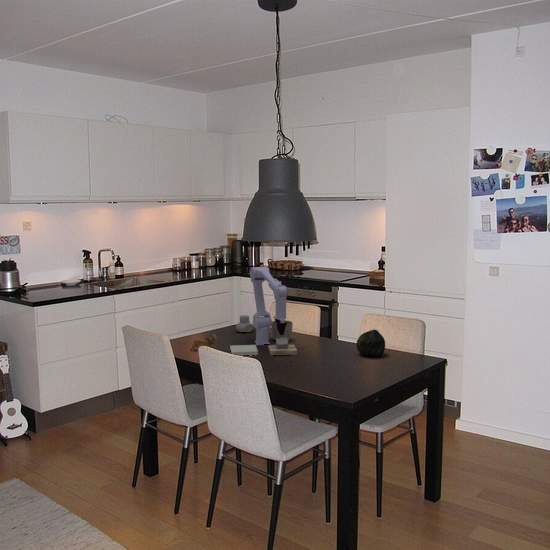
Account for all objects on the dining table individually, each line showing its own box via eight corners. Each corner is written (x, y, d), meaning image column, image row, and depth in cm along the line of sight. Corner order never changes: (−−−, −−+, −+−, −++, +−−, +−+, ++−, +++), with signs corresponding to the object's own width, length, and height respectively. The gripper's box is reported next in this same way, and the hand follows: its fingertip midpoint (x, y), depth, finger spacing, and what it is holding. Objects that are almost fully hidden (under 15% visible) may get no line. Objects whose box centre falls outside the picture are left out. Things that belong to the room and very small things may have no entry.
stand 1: (230, 350, 332) (230, 345, 332) (255, 349, 334) (255, 344, 334) (231, 356, 318) (231, 352, 318) (257, 356, 320) (257, 351, 320)
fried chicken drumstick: (216, 349, 335) (216, 333, 333) (217, 351, 329) (217, 335, 328) (189, 350, 332) (189, 334, 331) (190, 352, 327) (189, 336, 326)
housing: (276, 346, 329) (276, 337, 328) (286, 346, 330) (287, 337, 329) (277, 349, 325) (277, 339, 324) (288, 348, 325) (288, 339, 325)
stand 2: (268, 349, 334) (268, 344, 333) (293, 348, 335) (293, 344, 335) (271, 356, 320) (271, 351, 320) (297, 355, 322) (297, 350, 321)
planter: (266, 340, 354) (266, 322, 353) (282, 337, 362) (282, 319, 361) (281, 344, 345) (281, 325, 343) (296, 340, 353) (296, 322, 352)
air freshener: (241, 334, 369) (241, 318, 368) (233, 332, 375) (233, 316, 374) (255, 331, 376) (255, 316, 375) (247, 329, 382) (247, 314, 381)
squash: (353, 340, 331) (358, 324, 320) (380, 341, 332) (386, 325, 321) (356, 362, 322) (361, 347, 310) (384, 363, 323) (390, 347, 311)
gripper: (271, 306, 332) (271, 330, 334) (275, 311, 317) (275, 336, 319) (284, 305, 333) (284, 330, 334) (288, 311, 318) (288, 336, 320)
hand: (280, 333), depth 327 cm, fingers open, 7 cm apart
